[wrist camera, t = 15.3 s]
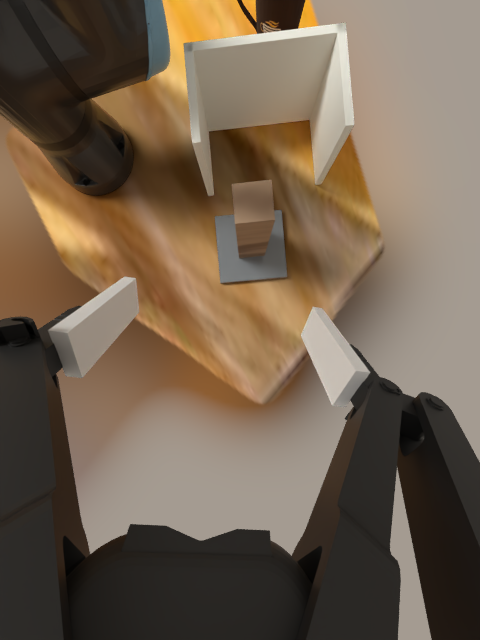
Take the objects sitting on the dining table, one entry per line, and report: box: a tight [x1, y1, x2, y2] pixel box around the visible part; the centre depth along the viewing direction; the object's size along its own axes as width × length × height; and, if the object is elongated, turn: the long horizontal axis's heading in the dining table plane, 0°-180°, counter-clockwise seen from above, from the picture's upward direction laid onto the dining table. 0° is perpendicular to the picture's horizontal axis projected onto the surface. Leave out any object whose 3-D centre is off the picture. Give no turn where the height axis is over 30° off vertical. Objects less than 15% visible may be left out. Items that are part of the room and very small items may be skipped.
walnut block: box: [232, 180, 275, 258], centre depth 32 cm, size 5×5×14 cm
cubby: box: [184, 23, 354, 196], centre depth 34 cm, size 14×22×12 cm, turn 95°
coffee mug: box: [237, 0, 305, 34], centre depth 35 cm, size 12×9×10 cm
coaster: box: [215, 210, 287, 283], centre depth 39 cm, size 13×13×1 cm
